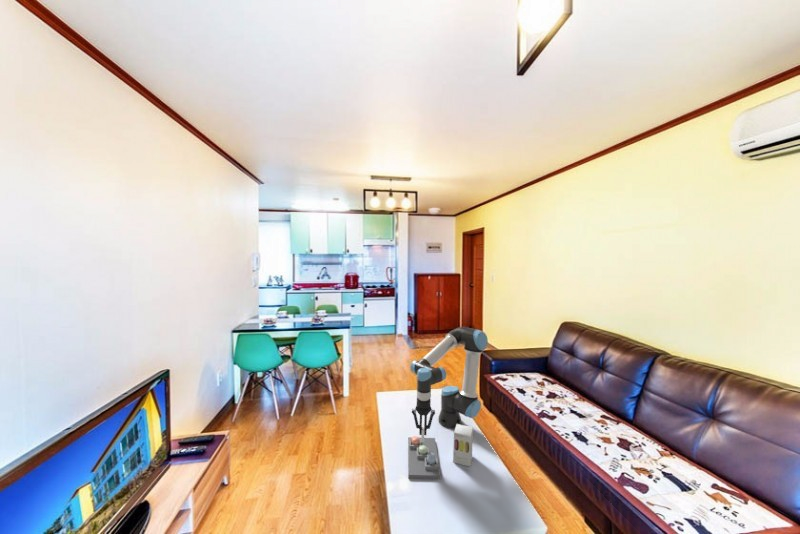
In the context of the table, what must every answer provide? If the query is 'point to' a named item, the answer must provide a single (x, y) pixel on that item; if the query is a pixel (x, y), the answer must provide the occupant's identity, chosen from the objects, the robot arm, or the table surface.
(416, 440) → the coral button
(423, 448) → the sage button
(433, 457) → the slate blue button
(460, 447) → the supplement box
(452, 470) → the table surface
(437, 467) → the panel
